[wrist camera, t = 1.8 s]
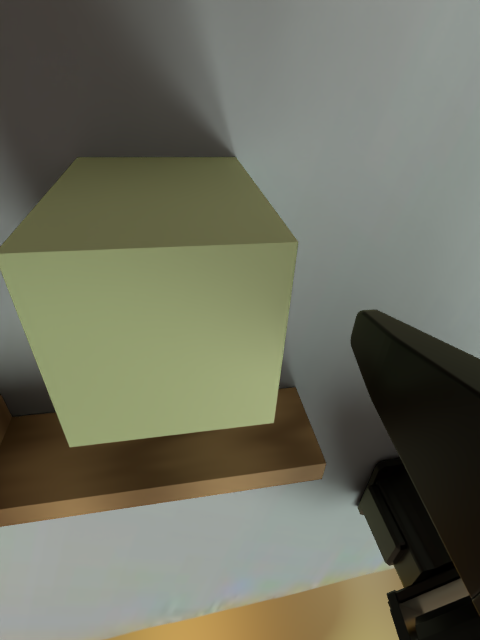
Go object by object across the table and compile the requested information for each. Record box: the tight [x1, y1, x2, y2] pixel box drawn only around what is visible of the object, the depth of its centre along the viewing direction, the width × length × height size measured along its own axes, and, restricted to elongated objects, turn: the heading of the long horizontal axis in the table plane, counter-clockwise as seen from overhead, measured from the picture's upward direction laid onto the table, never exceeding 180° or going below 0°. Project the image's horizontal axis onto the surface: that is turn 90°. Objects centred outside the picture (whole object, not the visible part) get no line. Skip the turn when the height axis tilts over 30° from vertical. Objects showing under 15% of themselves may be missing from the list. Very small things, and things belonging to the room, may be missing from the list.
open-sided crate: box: [0, 387, 326, 527], centre depth 11 cm, size 15×20×4 cm
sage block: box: [0, 157, 298, 447], centre depth 10 cm, size 5×5×7 cm
